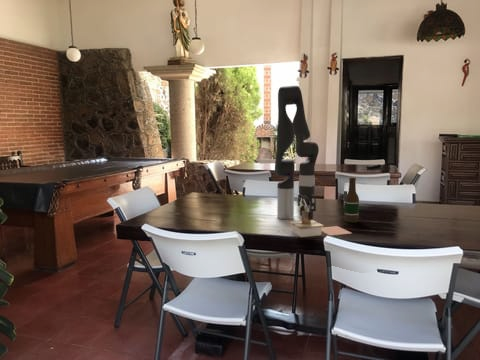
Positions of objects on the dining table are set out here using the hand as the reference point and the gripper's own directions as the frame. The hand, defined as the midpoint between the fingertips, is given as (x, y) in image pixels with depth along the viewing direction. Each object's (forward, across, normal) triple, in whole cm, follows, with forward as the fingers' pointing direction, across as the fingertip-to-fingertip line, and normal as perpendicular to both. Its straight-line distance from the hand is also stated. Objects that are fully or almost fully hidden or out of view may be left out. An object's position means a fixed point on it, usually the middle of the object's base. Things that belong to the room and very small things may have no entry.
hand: (306, 217), depth 184 cm
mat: (+8, 0, +15) cm, 17 cm away
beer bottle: (+8, -14, +34) cm, 38 cm away
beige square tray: (+8, 0, 0) cm, 8 cm away
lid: (+4, 0, 0) cm, 4 cm away
